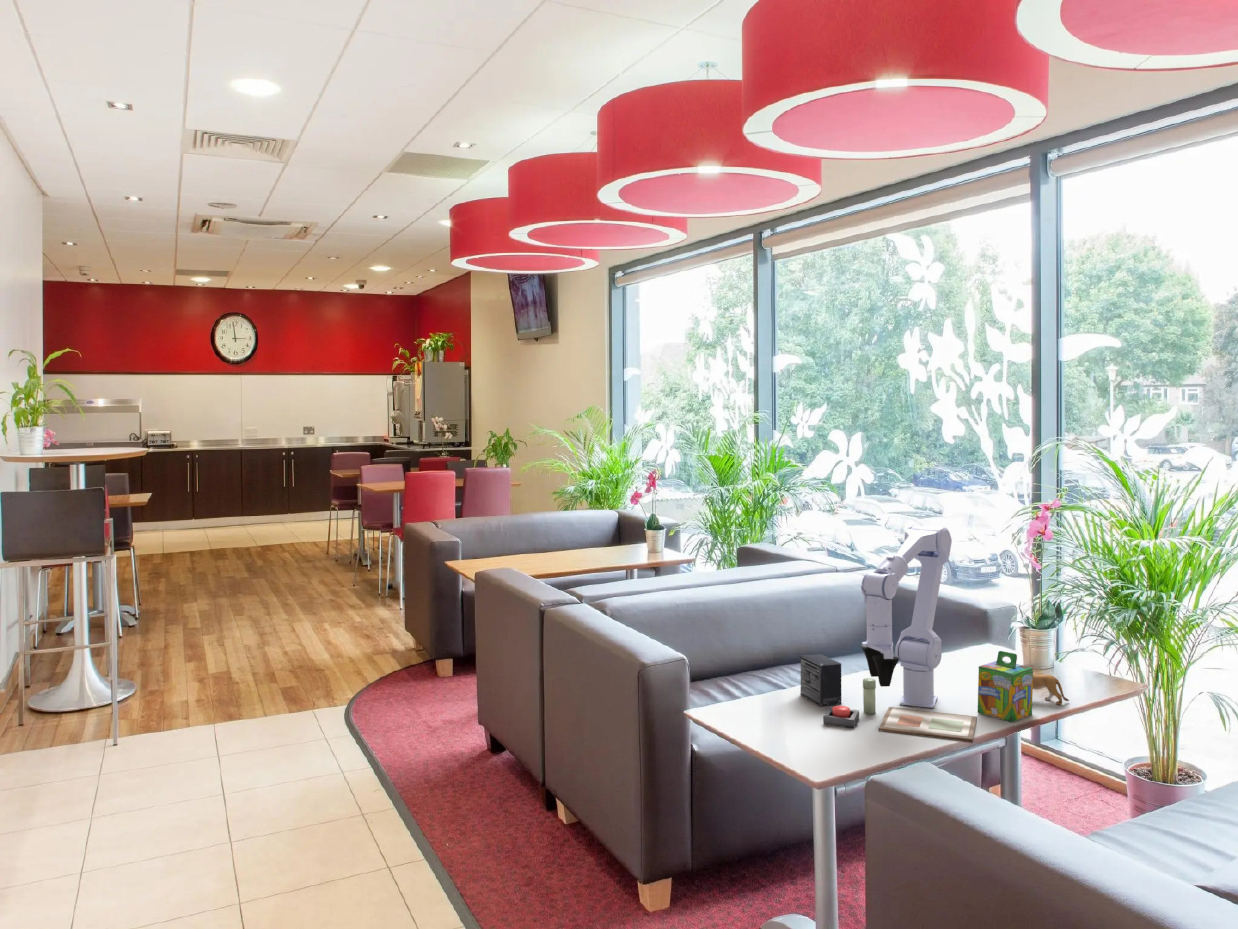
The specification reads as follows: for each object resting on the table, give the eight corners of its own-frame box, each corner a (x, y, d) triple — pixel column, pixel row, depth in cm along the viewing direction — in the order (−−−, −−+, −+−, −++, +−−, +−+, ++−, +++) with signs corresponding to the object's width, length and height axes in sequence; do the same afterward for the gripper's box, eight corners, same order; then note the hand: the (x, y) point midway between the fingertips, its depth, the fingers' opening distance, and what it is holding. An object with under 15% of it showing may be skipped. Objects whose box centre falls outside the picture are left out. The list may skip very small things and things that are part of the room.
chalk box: (976, 713, 218) (976, 652, 217) (997, 705, 223) (997, 646, 222) (1013, 723, 210) (1013, 660, 209) (1034, 715, 216) (1034, 653, 215)
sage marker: (864, 710, 222) (863, 677, 222) (876, 711, 221) (876, 679, 220) (862, 713, 219) (861, 681, 219) (874, 715, 218) (874, 682, 218)
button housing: (829, 715, 219) (829, 707, 219) (859, 719, 216) (859, 710, 216) (823, 724, 212) (823, 716, 212) (853, 728, 209) (853, 720, 209)
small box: (843, 704, 227) (843, 663, 226) (820, 707, 225) (820, 665, 224) (821, 692, 237) (821, 652, 236) (799, 695, 235) (798, 655, 234)
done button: (834, 712, 217) (834, 705, 217) (851, 714, 215) (851, 706, 215) (831, 717, 213) (830, 710, 213) (848, 719, 211) (848, 712, 211)
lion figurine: (1005, 702, 226) (1005, 666, 225) (1003, 695, 231) (1003, 660, 230) (1070, 706, 221) (1070, 669, 221) (1067, 699, 226) (1067, 664, 226)
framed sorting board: (889, 709, 222) (888, 706, 222) (976, 719, 214) (976, 715, 214) (878, 730, 208) (878, 727, 208) (972, 742, 199) (972, 738, 199)
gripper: (854, 617, 220) (854, 672, 221) (871, 632, 205) (871, 691, 206) (883, 616, 220) (883, 671, 221) (902, 631, 206) (902, 690, 206)
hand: (880, 681), depth 214 cm, fingers open, 7 cm apart
